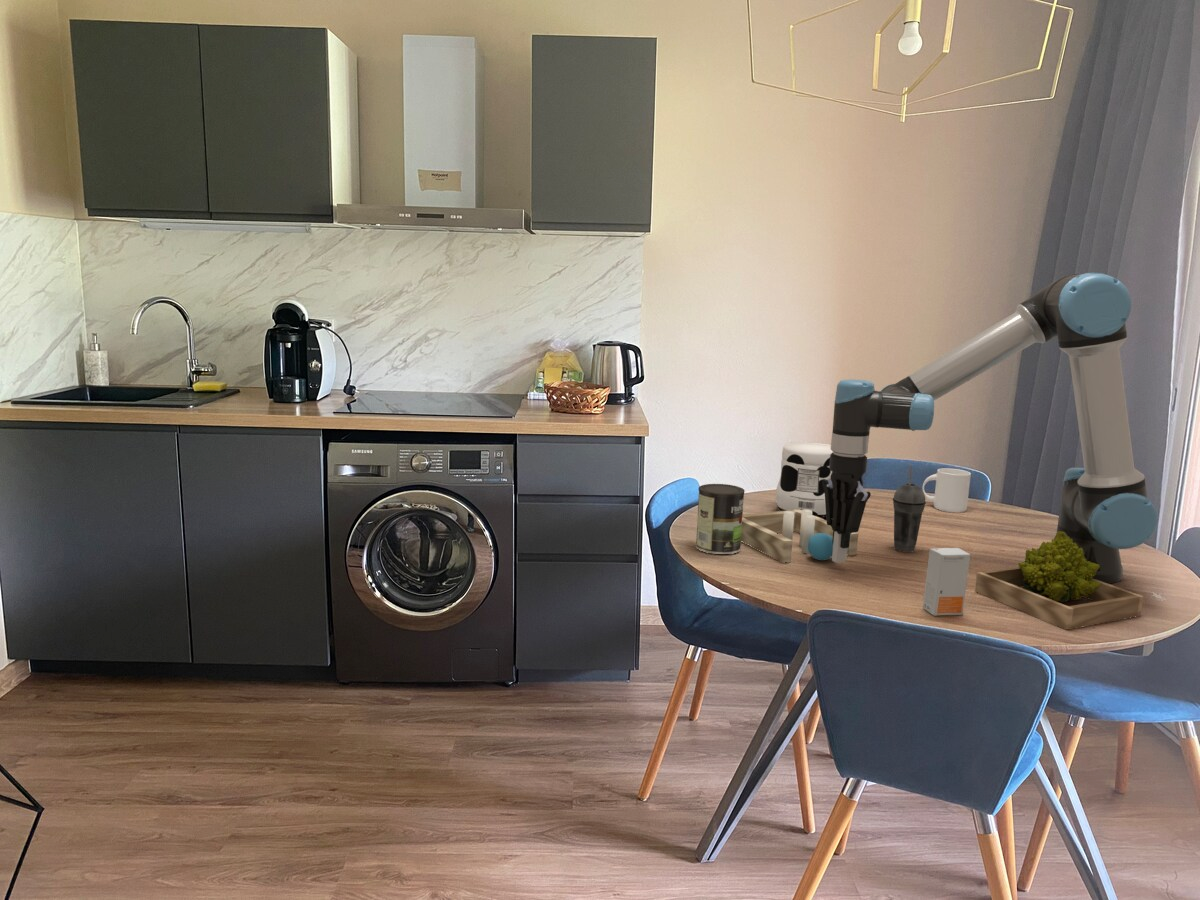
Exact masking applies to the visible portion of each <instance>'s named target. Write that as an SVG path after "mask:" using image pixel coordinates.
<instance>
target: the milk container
mask: <svg viewBox="0 0 1200 900" xmlns="http://www.w3.org/2000/svg"><path fill="white" fill-rule="evenodd" d="M831 453H833V451H832V450H831V443H830V444H829V443H823V442H822V443H821V442H812V441H811V442H810V441H793V442H787V443H785V444H783V446H782V452H781V462H780V463H781V464H780V465H781V466H780V476H779V477H780V478H779V481H778V482H777V483H778V484H777V486H776V489H775V502H776V505H777V507H778V508H779V509H780V511H787V510H798V509H799V510H804V509H807V510H812V515H814V516H817V517H819V518H826V506H825V491H824V488H823V484H822V481H823V480H828V479H830V478H831V474H832V471H831V470H830V469H829V464H830V454H831Z"/></svg>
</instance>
